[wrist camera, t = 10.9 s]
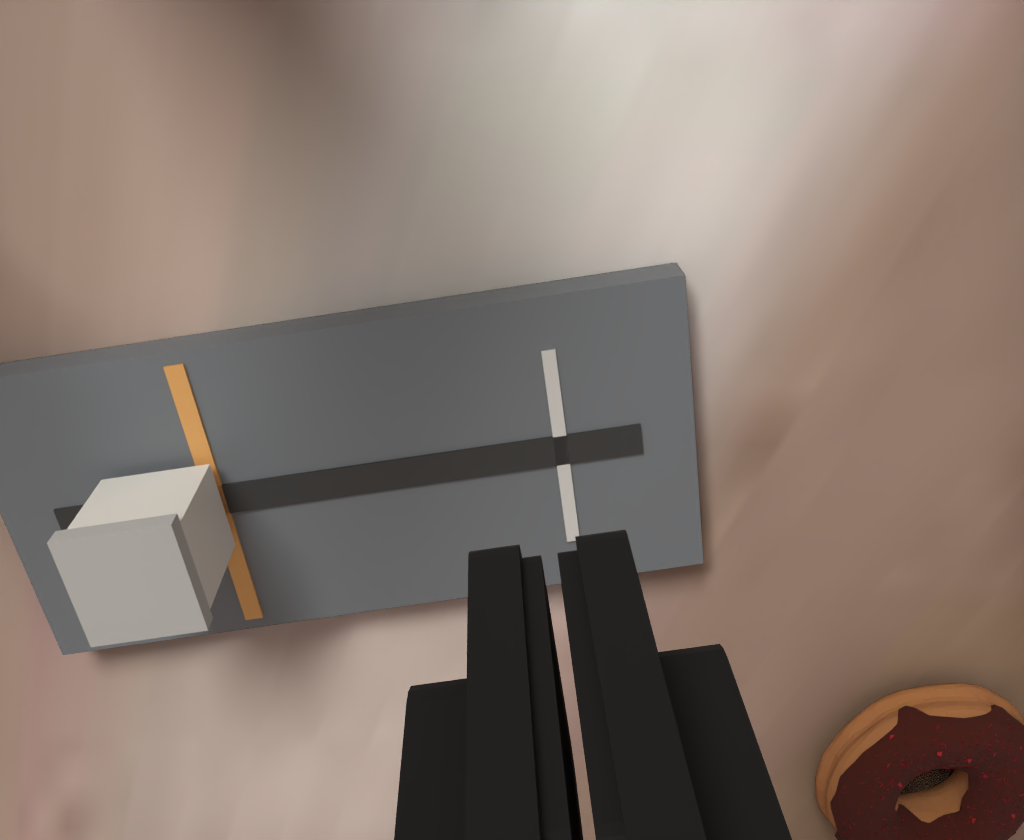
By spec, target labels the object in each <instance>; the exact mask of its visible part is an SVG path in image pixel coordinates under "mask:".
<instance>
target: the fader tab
mask: <svg viewBox="0 0 1024 840" xmlns="http://www.w3.org/2000/svg"><path fill="white" fill-rule="evenodd" d="M47 545H48V547H49V549H50V552H51V554H52V556H53V559H54V561H55V564H56V566H57V568H58V571H59V573H60V575H61V578H62V580H63V583H64V585H65V587H66V590H67V592H68V594H69V597H70V599H71V602H72V604H73V606H74V609H75V611H76V613H77V616H78V618H79V620H80V623H81V625H82V628H83V630H84V632H85V635H86V637H87V639H88V642H89V644H90V647H97V646H104V645H111V644H118V643H125V642H132V641H139V640H146V639H153V638H160V637H167V636H174V635H181V634H188V633H195V632H202V631H208V630H209V627H210V624H211V622H212V619H213V616H212V613H211V610H210V609H211V606H212V604H213V601H214V598H215V596H216V593H217V591H218V588H219V586H220V583H221V581H222V578H223V575H224V573H225V570H226V568H227V565H228V563H229V560H230V558H231V555H232V552H233V550H234V547H235V545H236V544H235V541H234V538H233V535H232V532H231V529H230V525H229V522H228V519H227V516H226V513H225V510H224V507H223V503H222V500H221V497H220V494H219V491H218V488H217V485H216V481H215V478H214V475H213V472H212V469H211V466H210V464H206V465H199V466H192V467H185V468H178V469H172V470H165V471H158V472H151V473H144V474H137V475H131V476H124V477H117V478H110V479H103V480H101V481H100V482H99V484H98V485H97V487H96V488H95V490H94V491H93V492H92V494H91V495H90V497H89V498H88V500H87V501H86V502H85V504H84V505H83V507H82V508H81V510H80V511H79V512H78V514H77V515H76V517H75V518H74V520H73V521H72V522H71V524H70V525H69V527H68V528H67V529H66V530H59V531H55V532H54V534H53V535H52V537H51V538H50V539H49V541H48V542H47Z"/></svg>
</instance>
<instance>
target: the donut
mask: <svg viewBox="0 0 1024 840" xmlns="http://www.w3.org/2000/svg"><path fill="white" fill-rule="evenodd" d="M951 768H952V769H955V770H954V771H953V772H952V774H951V775H950V776H949V777H948V778H946V779H945V780H944V781H942V782H941V783H940V784H938V785H936V786H934V787H931V788H928V789H925V790H921V791H917V792H909V793H901V792H902V791H903V790H904V788H905V787H906V786H907V785H908V784H909V783H910V782H911V780H914V779H915V778H917V777H918V776H920V775H922V774H923V773H925V772H928V771H931V770H932V771H933V770H935V769H936V770H937V769H941V770H942V769H949V770H950V769H951ZM816 798H817V801H818V804H819V807H820V809H821V811H822V812H823V813H824V815H825V816H826V817H827V819H828V820H829V821H830V822H831V823H832V825H833V827H834V828H835V830H836V831H837V832H836V835H835V837H836V838H837V839H838V840H1007V839H1009V838H1010V837H1011V836H1013V835H1014V834H1015V833H1016V831H1017V829H1018V828H1019V827H1020V826H1021V824H1022V823H1023V822H1024V720H1023V717H1022V716H1021V714H1020V713H1019V711H1018V710H1017V708H1016V707H1014V706H1013V705H1012V704H1011V703H1010V702H1009V701H1007V700H1006V699H1004V698H1002V697H1001V696H999V695H997V694H995V693H993V692H991V691H990V690H988V689H986V688H984V687H980V686H976V685H970V684H961V683H951V684H939V685H928V686H921V687H916V688H911V689H906V690H901V691H897V692H894V693H892V694H889V695H887V696H884V697H883V698H881V699H879V700H877V701H876V702H874V703H872V704H870V705H869V706H868V707H867V708H865V709H864V710H863V711H862V712H860V713H859V714H858V715H857V716H856V717H854V718H853V719H852V720H851V721H850V722H849V723H848V724H847V725H845V726H844V727H843V728H842V729H841V731H840V732H839V733H838V734H837V736H836V737H835V738H834V740H833V741H832V742H831V744H830V745H829V746H828V747H827V749H826V750H825V752H824V754H823V756H822V759H821V761H820V764H819V767H818V770H817V775H816Z"/></svg>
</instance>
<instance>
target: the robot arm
mask: <svg viewBox="0 0 1024 840" xmlns="http://www.w3.org/2000/svg"><path fill="white" fill-rule="evenodd" d="M575 539H576V547H577V550H574V551H567V552H560V553H557V555H558V562H559V570H560V577H561V584H562V592H563V599H564V607H565V614H566V621H567V629H568V636H569V643H570V651H571V658H572V666H573V673H574V680H575V688H576V695H577V702H578V710H579V717H580V725H581V732H582V739H583V747H584V754H585V762H586V769H587V776H588V784H589V791H590V798H591V806H592V813H593V821H594V828H595V835H596V840H792V838H791V836H790V833H789V830H788V827H787V824H786V821H785V819H784V816H783V813H782V810H781V807H780V805H779V802H778V799H777V796H776V793H775V790H774V788H773V785H772V782H771V779H770V776H769V774H768V771H767V768H766V765H765V762H764V759H763V757H762V754H761V751H760V748H759V745H758V743H757V740H756V737H755V734H754V731H753V728H752V726H751V723H750V720H749V717H748V714H747V712H746V709H745V706H744V703H743V700H742V697H741V695H740V692H739V689H738V686H737V683H736V680H735V678H734V675H733V672H732V669H731V666H730V664H729V661H728V658H727V656H726V653H725V651H724V649H723V647H722V646H721V645H720V644H716V645H708V646H701V647H694V648H686V649H679V650H672V651H664V652H658V651H657V647H656V643H655V639H654V635H653V631H652V627H651V624H650V620H649V616H648V612H647V608H646V604H645V600H644V597H643V593H642V589H641V585H640V581H639V577H638V573H637V569H636V566H635V562H634V558H633V554H632V550H631V546H630V542H629V539H628V535H627V532H626V530H618V531H611V532H604V533H597V534H590V535H583V536H576V537H575ZM394 840H583V834H582V826H581V817H580V809H579V801H578V793H577V784H576V776H575V768H574V761H573V754H572V747H571V740H570V734H569V727H568V721H567V715H566V708H565V702H564V696H563V689H562V683H561V677H560V670H559V664H558V658H557V651H556V645H555V639H554V632H553V626H552V620H551V613H550V607H549V601H548V595H547V588H546V582H545V576H544V569H543V563H542V557H541V555H539V556H532V557H525V558H522V554H521V549H520V545H512V546H505V547H498V548H491V549H483V550H476V551H470V552H469V555H468V624H467V679H459V680H452V681H445V682H437V683H430V684H423V685H415V686H411V687H410V689H409V691H408V697H407V704H406V715H405V726H404V737H403V748H402V759H401V770H400V781H399V792H398V803H397V814H396V825H395V836H394Z"/></svg>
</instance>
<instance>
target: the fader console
mask: <svg viewBox="0 0 1024 840" xmlns="http://www.w3.org/2000/svg"><path fill="white" fill-rule="evenodd" d="M206 464H210V466H211V469H212V472H213V475H214V478H215V481H216V485H217V488H218V491H219V494H220V497H221V500H222V503H223V507H224V510H225V513H226V516H227V519H228V522H229V525H230V529H231V532H232V535H233V538H234V541H235V544H236V545H235V547H234V550H233V552H232V555H231V558H230V560H229V563H228V565H227V568H226V570H225V573H224V575H223V578H222V581H221V583H220V586H219V588H218V591H217V593H216V596H215V598H214V601H213V604H212V606H211V609H210V610H211V613H212V616H213V619H212V622H211V624H210V627H209V630H208V631H202V632H195V633H188V634H181V635H174V636H167V637H160V638H153V639H146V640H139V641H132V642H125V643H118V644H111V645H104V646H97V647H90V644H89V642H88V639H87V637H86V635H85V632H84V630H83V628H82V625H81V623H80V620H79V618H78V616H77V613H76V611H75V609H74V606H73V604H72V602H71V599H70V597H69V594H68V592H67V590H66V587H65V585H64V583H63V580H62V578H61V575H60V573H59V571H58V568H57V566H56V564H55V561H54V559H53V556H52V554H51V552H50V549H49V547H48V545H47V542H48V541H49V539H50V538H51V537H52V535H53V534H54V532H55V531H59V530H66V529H67V528H68V527H69V525H70V524H71V522H72V521H73V520H74V518H75V517H76V515H77V514H78V512H79V511H80V510H81V508H82V507H83V505H84V504H85V502H86V501H87V500H88V498H89V497H90V495H91V494H92V492H93V491H94V490H95V488H96V487H97V485H98V484H99V482H100V481H101V480H103V479H110V478H117V477H124V476H131V475H137V474H144V473H151V472H158V471H165V470H172V469H178V468H185V467H192V466H199V465H206ZM0 513H1V516H2V518H3V520H4V522H5V525H6V527H7V529H8V531H9V534H10V536H11V538H12V541H13V543H14V545H15V547H16V550H17V552H18V554H19V556H20V559H21V561H22V563H23V566H24V568H25V570H26V572H27V575H28V577H29V579H30V581H31V584H32V586H33V588H34V591H35V593H36V595H37V597H38V600H39V602H40V604H41V607H42V609H43V611H44V613H45V616H46V618H47V620H48V622H49V625H50V627H51V629H52V632H53V634H54V636H55V638H56V641H57V643H58V645H59V647H60V650H61V652H62V654H63V655H66V654H73V653H80V652H87V651H94V650H101V649H108V648H115V647H122V646H129V645H136V644H143V643H150V642H157V641H164V640H171V639H178V638H185V637H192V636H199V635H206V634H213V633H220V632H227V631H234V630H241V629H248V628H255V627H262V626H269V625H276V624H283V623H290V622H297V621H304V620H311V619H318V618H325V617H332V616H339V615H346V614H353V613H360V612H367V611H374V610H381V609H388V608H395V607H402V606H409V605H416V604H423V603H430V602H437V601H444V600H451V599H458V598H465V597H468V555H469V552H470V551H476V550H483V549H491V548H498V547H505V546H512V545H520V549H521V554H522V558H525V557H532V556H539V555H541V557H542V563H543V569H544V576H545V582H546V586H549V585H556V584H561V577H560V570H559V562H558V555H557V553H560V552H567V551H574V550H577V547H576V539H575V537H576V536H583V535H590V534H597V533H604V532H611V531H618V530H626V532H627V535H628V539H629V542H630V546H631V550H632V554H633V558H634V562H635V566H636V569H637V573H640V572H647V571H654V570H661V569H668V568H675V567H682V566H689V565H696V564H703V549H702V533H701V517H700V502H699V486H698V470H697V454H696V438H695V422H694V406H693V390H692V374H691V358H690V343H689V327H688V311H687V295H686V279H685V274H684V273H683V271H682V270H681V268H680V267H679V265H678V264H677V263H670V264H664V265H657V266H650V267H644V268H637V269H630V270H624V271H617V272H610V273H603V274H597V275H590V276H583V277H577V278H570V279H563V280H557V281H550V282H543V283H536V284H530V285H523V286H516V287H510V288H503V289H496V290H490V291H483V292H476V293H469V294H463V295H456V296H449V297H443V298H436V299H429V300H423V301H416V302H409V303H403V304H396V305H389V306H382V307H376V308H369V309H362V310H356V311H349V312H342V313H336V314H329V315H322V316H315V317H309V318H302V319H295V320H289V321H282V322H275V323H269V324H262V325H255V326H249V327H242V328H235V329H228V330H222V331H215V332H208V333H202V334H195V335H188V336H182V337H175V338H168V339H161V340H155V341H148V342H141V343H135V344H128V345H121V346H115V347H108V348H101V349H95V350H88V351H81V352H74V353H68V354H61V355H54V356H48V357H41V358H34V359H28V360H21V361H14V362H7V363H1V364H0Z"/></svg>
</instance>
